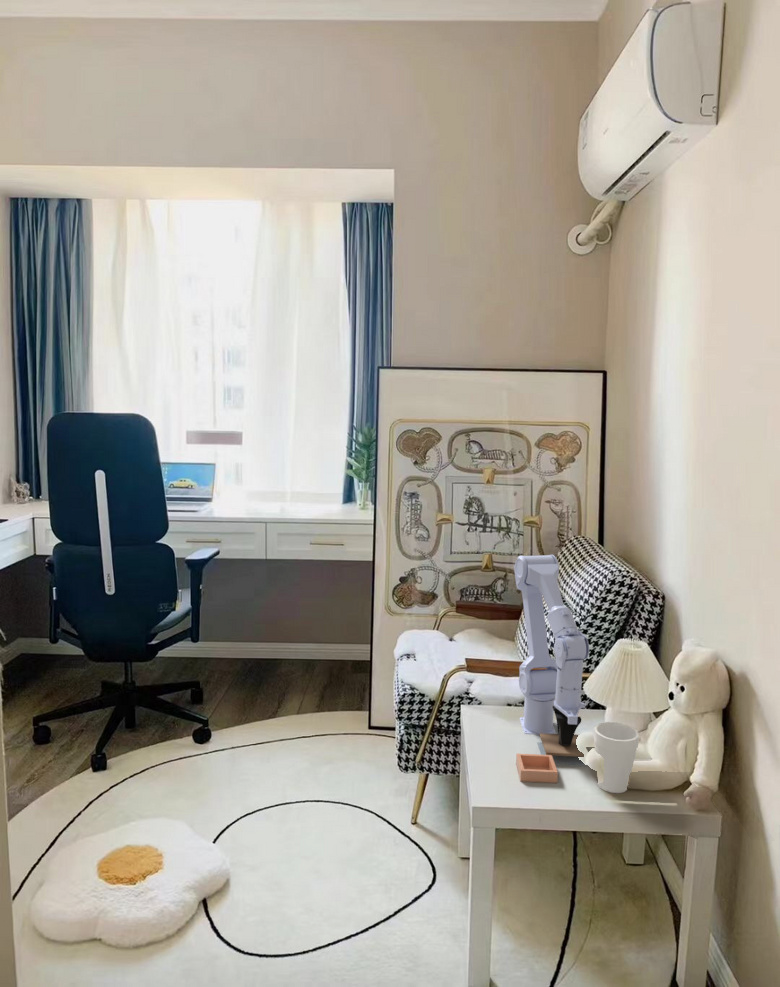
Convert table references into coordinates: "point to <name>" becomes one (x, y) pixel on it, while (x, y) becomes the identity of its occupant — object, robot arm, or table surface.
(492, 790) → the table surface
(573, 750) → the lid
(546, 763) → the open box
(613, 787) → the foam cup
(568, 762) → the mat
